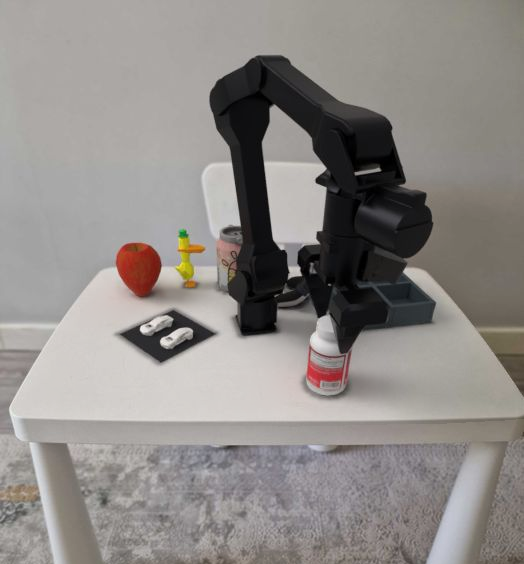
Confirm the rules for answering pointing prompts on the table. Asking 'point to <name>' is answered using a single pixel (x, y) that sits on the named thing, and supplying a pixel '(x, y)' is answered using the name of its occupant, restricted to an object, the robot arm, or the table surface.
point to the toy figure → (187, 257)
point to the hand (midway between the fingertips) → (331, 334)
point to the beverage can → (228, 254)
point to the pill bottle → (326, 361)
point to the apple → (138, 267)
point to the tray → (400, 302)
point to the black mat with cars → (167, 335)
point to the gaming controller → (293, 293)
